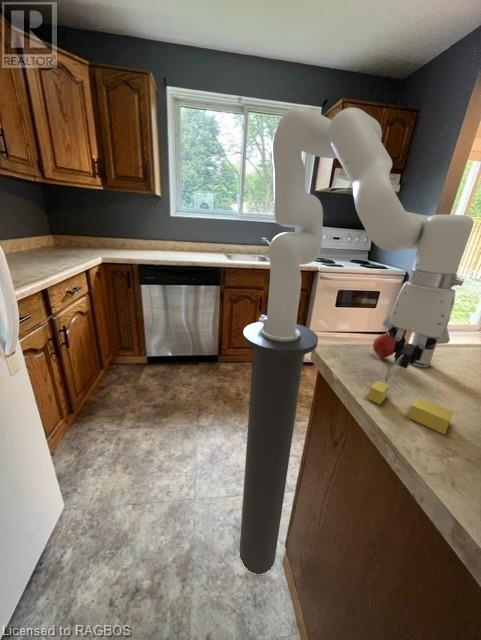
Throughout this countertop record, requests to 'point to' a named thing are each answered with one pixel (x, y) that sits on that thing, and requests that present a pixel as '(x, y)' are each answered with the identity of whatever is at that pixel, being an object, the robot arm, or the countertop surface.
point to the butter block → (430, 415)
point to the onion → (384, 345)
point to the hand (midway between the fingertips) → (405, 358)
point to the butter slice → (378, 392)
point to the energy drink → (426, 353)
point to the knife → (401, 359)
